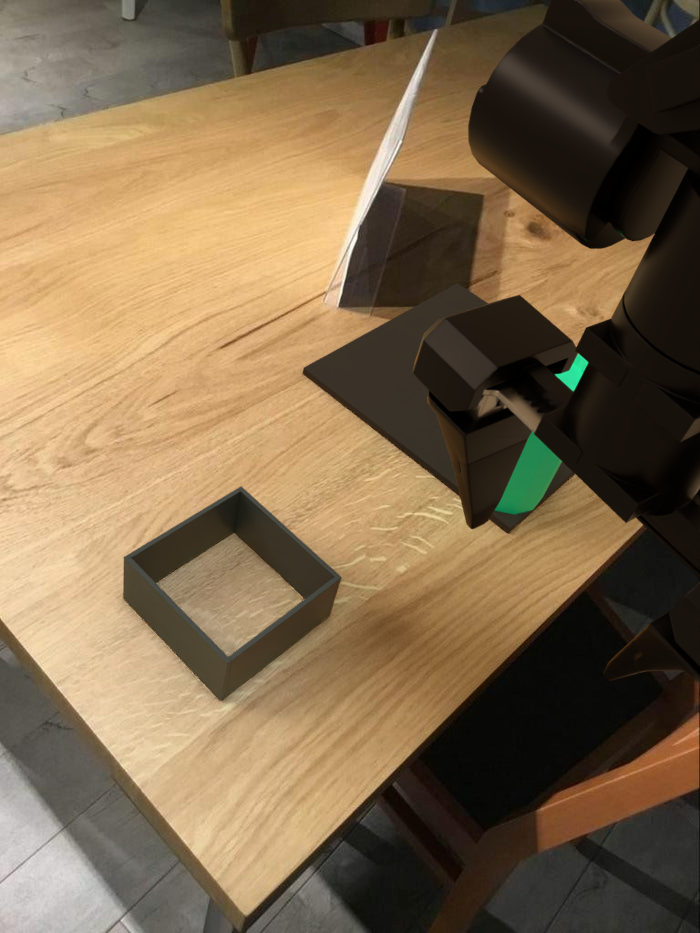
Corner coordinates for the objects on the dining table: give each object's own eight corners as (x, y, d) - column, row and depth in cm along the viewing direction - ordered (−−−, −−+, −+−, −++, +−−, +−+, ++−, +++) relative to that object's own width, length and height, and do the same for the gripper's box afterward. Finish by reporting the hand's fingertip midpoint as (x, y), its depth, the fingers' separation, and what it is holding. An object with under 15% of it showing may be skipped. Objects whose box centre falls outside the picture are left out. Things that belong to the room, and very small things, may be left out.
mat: (642, 413, 72) (645, 408, 72) (508, 533, 60) (510, 528, 60) (455, 288, 79) (457, 282, 79) (302, 373, 67) (303, 367, 67)
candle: (528, 451, 65) (591, 324, 57) (554, 514, 61) (625, 387, 53) (453, 450, 64) (505, 319, 55) (474, 514, 60) (534, 384, 51)
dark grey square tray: (329, 615, 53) (342, 577, 50) (220, 701, 48) (227, 663, 45) (234, 527, 56) (241, 485, 53) (122, 598, 51) (123, 556, 48)
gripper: (1069, 437, 29) (801, 676, 40) (649, 152, 37) (526, 413, 49) (909, 565, 23) (648, 803, 34) (458, 193, 32) (369, 478, 43)
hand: (540, 594), depth 40 cm, fingers open, 9 cm apart
